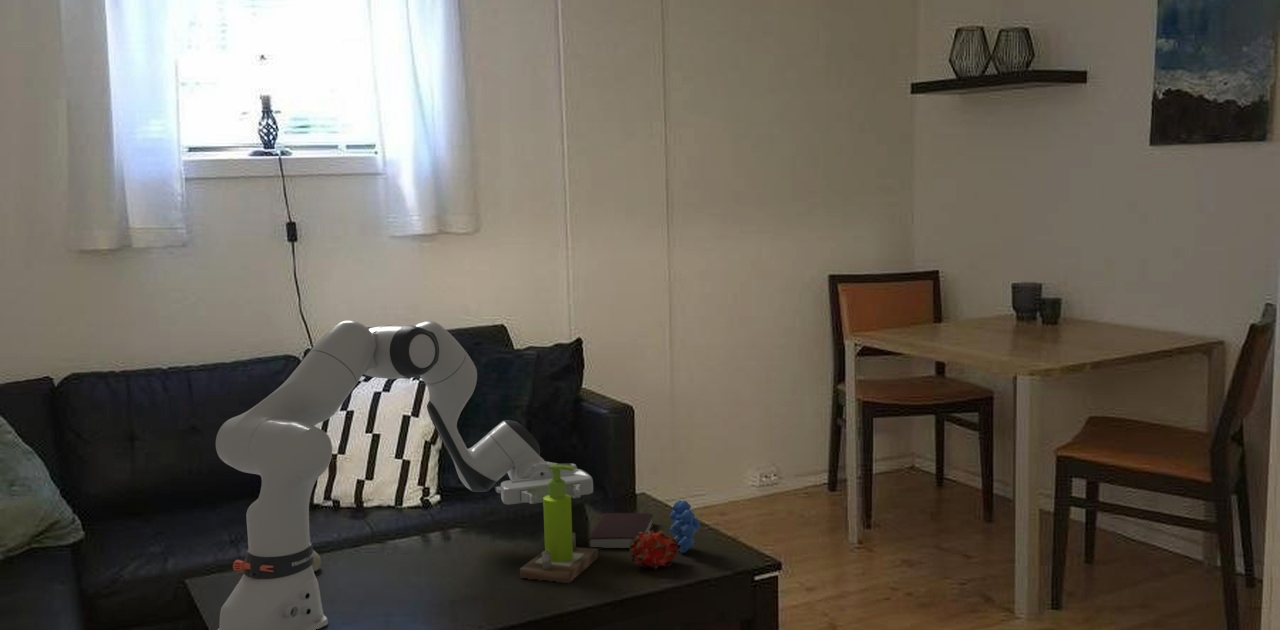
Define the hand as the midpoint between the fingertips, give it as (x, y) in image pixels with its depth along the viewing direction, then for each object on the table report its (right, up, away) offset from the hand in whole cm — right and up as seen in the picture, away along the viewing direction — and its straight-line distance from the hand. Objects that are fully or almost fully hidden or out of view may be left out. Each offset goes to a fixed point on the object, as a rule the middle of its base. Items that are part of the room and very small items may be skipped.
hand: (555, 497), depth 238 cm
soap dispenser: (+1, -13, 0) cm, 13 cm away
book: (+14, -13, +21) cm, 28 cm away
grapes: (+28, -14, +8) cm, 32 cm away
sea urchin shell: (-55, -17, +2) cm, 57 cm away
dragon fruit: (+21, -15, 0) cm, 26 cm away
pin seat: (+1, -15, 0) cm, 15 cm away
